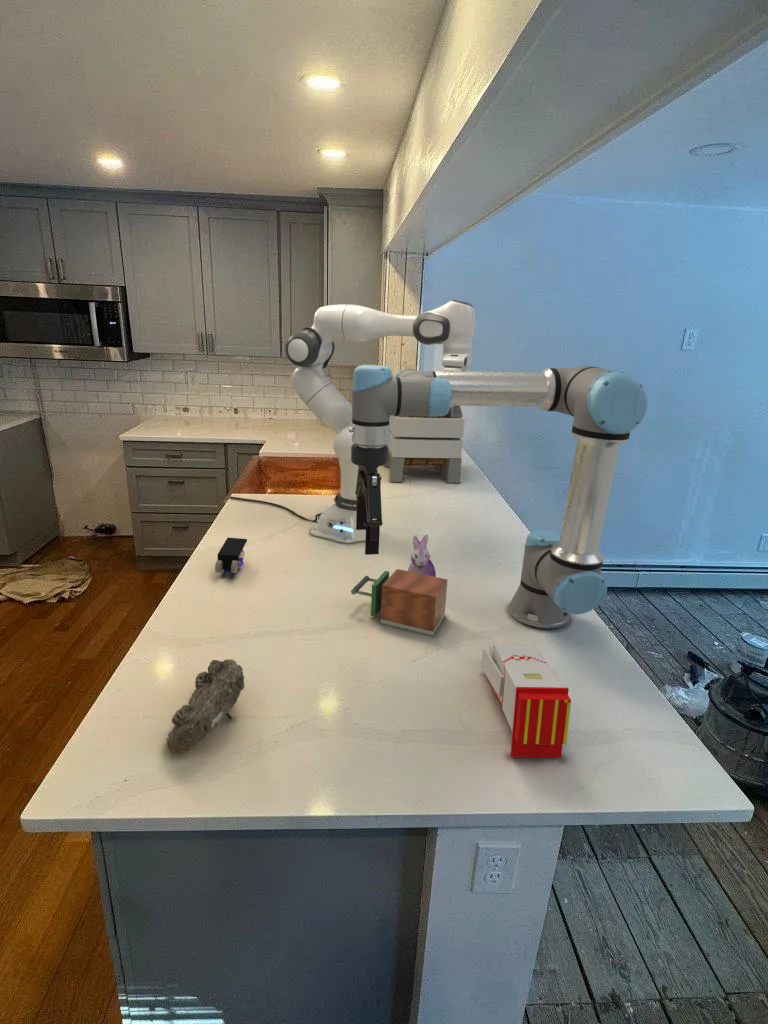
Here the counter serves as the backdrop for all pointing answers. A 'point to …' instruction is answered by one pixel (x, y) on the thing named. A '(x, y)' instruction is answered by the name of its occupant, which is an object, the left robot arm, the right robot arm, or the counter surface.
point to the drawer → (373, 591)
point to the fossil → (206, 705)
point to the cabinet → (413, 601)
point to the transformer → (426, 443)
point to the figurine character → (230, 556)
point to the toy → (528, 698)
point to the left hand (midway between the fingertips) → (453, 404)
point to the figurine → (421, 558)
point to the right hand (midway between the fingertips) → (366, 541)
